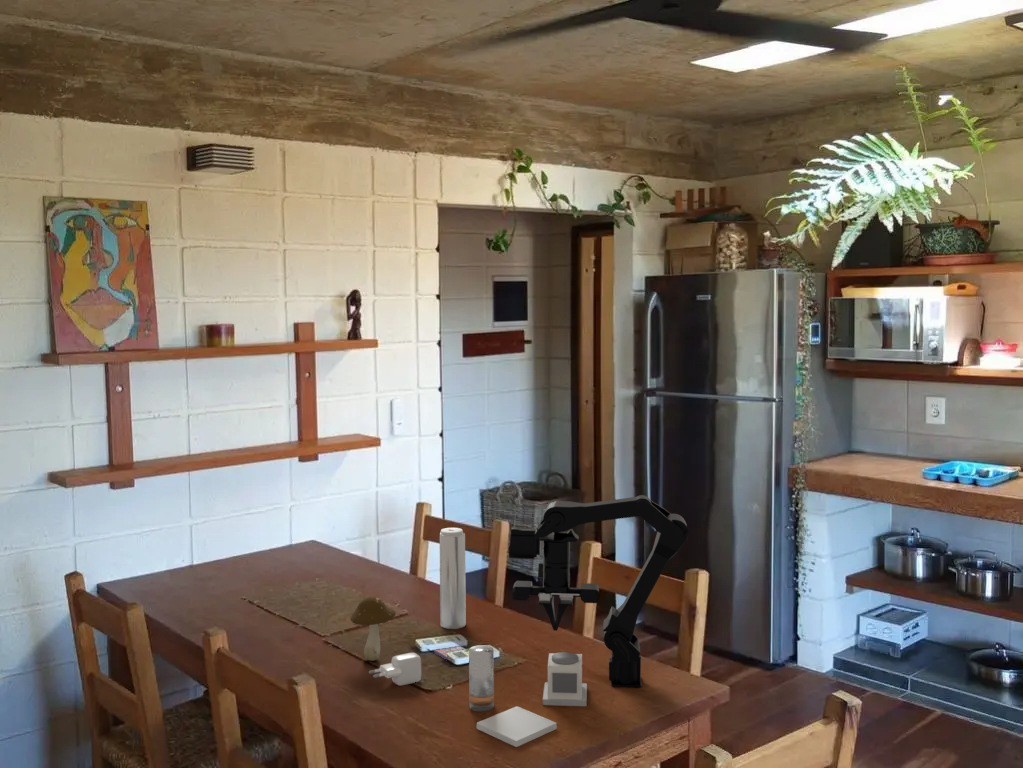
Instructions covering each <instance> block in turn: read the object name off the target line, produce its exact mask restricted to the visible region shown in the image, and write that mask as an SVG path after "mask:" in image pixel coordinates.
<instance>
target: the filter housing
mask: <svg viewBox="0 0 1023 768" xmlns="http://www.w3.org/2000/svg"><path fill="white" fill-rule="evenodd" d="M587 684H588V683H585V682H583V654H582V653H574V652H568V651H561V652H556V653H553V652H552V653H551V652H549V653H548V660H547V681H546V682H544V686H543V694H542V706H563V707H564V706H566V707H567V706H568V707H587V701H588V700H587V699H588V698H587V695H588V694H587V693H588V689H587V688H588V685H587Z"/></svg>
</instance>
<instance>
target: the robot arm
mask: <svg viewBox="0 0 1023 768" xmlns="http://www.w3.org/2000/svg"><path fill="white" fill-rule="evenodd" d="M542 517H543V518H542V520H541V521H540V522H539V523H538V524H537V526H536V528H521V527H517V526H514V527H513V526H512V527H511V529H510V537H509V539H510V540H509V545H508V557H509V560H531V561H532V560H533V561H534V560H536V558H538V556H541V553H542V542H543V561H542V563H538V566H537V567H538V570H537V578H538V579H542V586H538V585H533V581H532V580H531V581H530V580H516V581H515V582H514V584H513V586H512V593H511V594H512V595H511V596H512V600H514V601H525V602H526V601H528V600H529V599H530V598H531V596H538V598H539V600H538V605H541V606H543V608H544V609H545V612H546V614H547V616H548V619H549V622H550V624H551V627H552V630H553V631H554V632H555V631H556V632H557V631H558V629H559V626H560V624H561V620H562V619H563V616H564V614H565V611H566V610H567V608H568V607H572V606H573V601H574V598H580V600H581V601H582V602H583V603H584V604H598V603H600V586H599V585H598V584H597V583H586V582H585V583H584V582H582V583H580V584H581V585H580V587H570V585H571V573H570V563H571V562H570V561H571V560H570V558H571V556H570V554H571V552H570V551H571V543H578V542H579V535H578V534H577V533H576V532H575V531H574V530H573V529H575V528H577V527H579V526H582V525H585V524H589V523H596V522H603V521H612V520H613V521H614V520H620V519H628V518H635V517H640V518H641V519H643V520H644V521H645V522H646V523H647V524H649V526H651V527H652V528H653V529H654V530H656V536H655V540H654V543H653V547H652V550H651V552H650V553H649V555H648V558H647V559H646V561H645V563H644V565H643V567H642V568H641V570H640V572H639V573H638V575H637V577H636V579H635V580H634V583H633V584H632V587H631V589H630V591H628V593H627V596H626V598H625V599H624V601H623V603H622V604H621V605H620V606H619V607H618V608H615V607H614V606H613V605H612V606H610V607H611V608H610V610H609V612H608V615H607V616H606V618H605V619H604V620H603V624H602V625H603V628H602V631H603V643H604V645H605V646H606V648H607V649H608V650H610V651H611V657H609V658H608V680H609V681H610V686H611V687H617V688H618V687H622V688H641V687H642V685H643V684H642V678H641V677H642V676H641V675H642V673H641V672H642V671H641V670H642V669H641V668H642V660H641V659H642V656H641V647H640V638H639V637H637V635H636V634H634V631H635V628H636V624H637V621H638V618H639V615H640V613H641V611H642V609H643V608H644V606H645V603H646V602H647V600H648V598H649V596H650V594H651V593H652V591H653V589H654V588H655V586H656V585H657V582H658V581H659V578H660V576H661V575H662V573H663V571H664V570H665V568H666V566H667V564H668V562H669V561H670V560H671V558H673V557H674V556H675V555H676V554H677V553H678V552H679V551H680V550H681V548H682V547H683V546H684V545H685V543H687V541H688V538H689V535H690V531H689V528H688V526H687V522H686V520H685V519H684V517H683V516H681V515H680V514H678V513H671V512H669V511H668V510H667V509H666V508H664V507H662V506H660V505H659V504H657V503H656V502H654V501H653V500H651V499H650V497H648V496H646V495H644V494H640V495H638V496H633V497H625V498H619V499H610V500H602V501H593V502H584V503H583V502H575V501H569V500H568V501H566V500H565V501H564V500H563V501H561V500H555V501H551V502H550V503H549V504H547V507H546V509H545V511H544V514H543V516H542ZM554 597H559V598H558V599H559V600H558V605H557V612H556V611H555V605H554V604H555V603H554V601H555V600H554ZM555 612H556V613H555Z"/></svg>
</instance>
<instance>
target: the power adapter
mask: <svg viewBox="0 0 1023 768" xmlns="http://www.w3.org/2000/svg"><path fill="white" fill-rule="evenodd" d="M375 673H376V674H375ZM368 674H370V675H371V674H372V677H373V678H374V679H376V678H379V677H385V678H386V679H390V678H391V679H392V682H393V683H394V684H395V685H396V686H407V685H411V684H415V682H416V683H419V682H421V679H422V659H421V656H420V655H419V654H417V653H416V652H408V653H403V654H396V655H394V656H392V657H391V662H389V663H385V664H381V665H380V666H379V668H376V669H370V670H368Z"/></svg>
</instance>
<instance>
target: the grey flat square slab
mask: <svg viewBox="0 0 1023 768" xmlns="http://www.w3.org/2000/svg"><path fill="white" fill-rule="evenodd" d="M557 727H558V725H557V722H555V721H553V720H550V719H548V718H546V717H543V716H542V715H539V714H536V713H534V712H531V711H529V710H528V709H525V708H522V707H520V706H517V705H516V706H514V707H512V708H511V707H510V708H509V709H507V710H504V711H502V712H500V713H497V714H494V715H492V716H490V717H486V718H485V719H483V720H480V721H477V722H476V729H477V730H478V731H481V732H482V733H485V734H487V735H489V736H491V737H494V738H495V739H498V740H500V741H502V742H504V743H506V744H508V745H510V746H513V747H514V748H517V747H520V746H522V745H524V744H527V743H529V742H531V741H533V740H535V739H537V738H539V737H542V736H544V735H546V734H548V733H551V732H553V731H555V730H557V729H558V728H557Z"/></svg>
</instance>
